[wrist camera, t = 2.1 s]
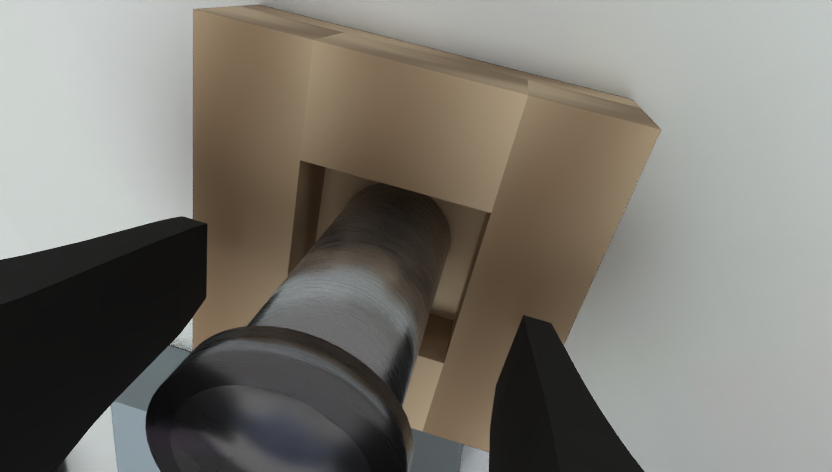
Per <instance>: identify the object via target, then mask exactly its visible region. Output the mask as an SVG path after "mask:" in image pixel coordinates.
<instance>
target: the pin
mask: <svg viewBox="0 0 832 472" xmlns="http://www.w3.org/2000/svg"><path fill="white" fill-rule="evenodd" d="M450 240H451V236H450V228H449V224H448V221H447V219H446V216H445V215H444V213H443V211H442V209H441V208H440V207H439V205H438V204H437V203H436V202H435V201H434V200H433V199H432V198H431V197H430V196H428V195H424V194H420V193H417V192H413V191H410V190H406V189H402V188H399V187H395V186H392V185H388V184H384V183H377V184H374V185H370V186H368V187H366V188H364V189H363V190H361V191H360V192H358V193H357V194H356V195H355V196H354V197H353V198H352V199H351V200H350V202H349V203H348V204H347V205H346V206H345V208H344V209H343V210H342V211H341V212H340V214H339V215H338V216H337V217H336V218H335V220H334V221H333V222H332V223H331V225H330V226H329V227H328V228H327V229H326V231H325V232H324V233H323V234H322V235H321V237H320V238H319V239H318V240H317V241H316V243H315V244H314V245H313V246H312V248H311V249H310V250H309V251H308V252H307V254H306V255H305V256H304V257H303V258H302V260H301V261H300V262H299V263H298V264H297V266H296V267H295V268H294V269H293V271H292V272H291V273H290V274H289V275H288V277H287V278H286V279H285V280H284V281H283V283H282V284H281V285H280V286H279V287H278V289H277V290H276V291H275V292H274V294H273V295H272V296H271V297H270V298H269V300H268V301H267V302H266V303H265V304H264V306H263V307H262V308H261V309H260V310H259V312H258V313H257V314H256V315H255V317H254V318H253V319H252V320H251V321H250V323H249V324H248V325H247V326H245V327H237V328H233V329H229V330H225V331H222V332H220V333H217V334H215V335H212V336H211V337H209V338H208V339H206V340H204V341H203V342H201V343H200V344H199V345H198V346H197V347H196V348H195V349H194V350H193V351H192V352H191V353H190V354H189V355H188V356H187V357H186V358H185V359H184V360H183V361H182V362H181V364H180V365H179V366H178V367H177V368H176V369H175V370H174V371H173V372H172V373H171V374H170V376H169V377H168V378H167V379H166V380H165V381H164V382H163V383H162V384H161V385H160V386H159V388H158V389H157V391H156V392H155V393H154V395H153V396H152V398H151V401H150V403H149V405H148V409H147V413H146V424H145V430H146V436H147V442H148V445H149V448H150V451H151V454H152V456H153V458H154V461H155V463H156V465H157V466H158V468H159V470H160V471H161V472H410V469H411V465H412V460H413V455H414V441H413V435H412V430H411V427H410V423H409V420H408V417H407V415H406V413H405V411H404V409H403V403H404V400H405V396H406V393H407V390H408V386H409V383H410V380H411V376H412V373H413V370H414V366H415V363H416V359H417V356H418V353H419V349H420V346H421V343H422V339H423V336H424V333H425V329H426V326H427V323H428V319H429V316H430V312H431V309H432V306H433V302H434V299H435V296H436V292H437V289H438V286H439V282H440V279H441V275H442V272H443V269H444V265H445V262H446V259H447V255H448V252H449V248H450Z"/></svg>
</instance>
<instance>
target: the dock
mask: <svg viewBox="0 0 832 472" xmlns="http://www.w3.org/2000/svg"><path fill="white" fill-rule="evenodd" d="M190 353H191V352H188V351H185V350H182V349H178V348H175V347H172V346H168V347H167V348H166V349H165V350H164V351H163V352H162V353H161V354H160V355H159V356H158V357H157V358H156V359H155V360H154V361H153V362H152V363H151V364H150V365H149V366H148V367H147V368H146V369H145V370H144V371H143V372H142V373H141V374H140V375H139V376H138V378H137V379H136V380H135V381H134V382H133V383H132V384H131V385H130V386H129V387H128V388H127V389H126V390H125V391H124V392H123V393H122V394H121V395H120V396H119V397H118V398H117V399H116V400H115V401H114V402H113V403H112V404H111V413H112V422H113V432H114V441H115V451H116V460H117V469H118V472H161V471H160V470H159V468H158V466H157V465H156V463H155V461H154V458H153V456H152V454H151V451H150V448H149V445H148V442H147V436H146V430H145V424H146V413H147V409H148V405H149V403H150V401H151V398H152V396H153V395H154V393H155V392H156V391H157V389H158V388H159V386H160V385H161V384H162V383H163V382H164V381H165V380H166V379H167V378H168V377H169V376H170V374H171V373H172V372H173V371H174V370H175V369H176V368H177V367H178V366H179V365H180V364H181V362H182V361H183V360H184V359H185V358H186V357H187V356H188V355H189V354H190ZM411 430H412V435H413V441H414V455H413V460H412V465H411V469H410V472H459V468H460V461H461V453H462V446H463V444H461V443H458V442H455V441H451V440H448V439H445V438H442V437H439V436H435V435H432V434H429V433H426V432H423V431H419V430H416V429H413V428H411Z"/></svg>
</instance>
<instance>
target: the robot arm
mask: <svg viewBox="0 0 832 472" xmlns="http://www.w3.org/2000/svg"><path fill="white" fill-rule="evenodd" d="M207 226H208V224H207V223H203V222H200V221H197V220H193V219H190V218H186V217H183V216H182V217H176V218H170V219H166V220H161V221H157V222H153V223H149V224H146V225H142V226H138V227H134V228H131V229H127V230H123V231H120V232H116V233H112V234H108V235H105V236H101V237H97V238H93V239H90V240H86V241H82V242H78V243H74V244H70V245H65V246H61V247H57V248H53V249H48V250H44V251H40V252H36V253H32V254H27V255H23V256H18V257H13V258H8V259H3V260H0V472H55V471H56V469H57V468H58V467H59V465H60V464H61V463H62V462H63V460H64V459H65V458H66V457H67V456H68V454H69V453H70V452H71V451H72V449H73V448H74V447H75V446H76V444H77V443H78V442H79V441H80V439H81V438H82V437H83V436H84V434H85V433H86V432H87V431H88V429H89V428H90V427H91V426H92V425H93V424H94V422H95V421H96V420H97V419H98V418H99V417H100V416H101V415H102V414H103V413H104V411H105V410H106V409H107V408H108V407H109V406H110V405H111V404H112V403H113V402H114V401H115V400H116V399H117V398H118V397H119V396H120V395H121V394H122V393H123V392H124V391H125V390H126V389H127V388H128V387H129V386H130V385H131V384H132V383H133V382H134V381H135V380H136V379H137V378H138V376H139V375H140V374H141V373H142V372H143V371H144V370H145V369H146V368H147V367H148V366H149V365H150V364H151V363H152V362H153V361H154V360H155V359H156V358H157V357H158V356H159V355H160V354H161V353H162V352H163V351H164V350H165V349H166V348H167V347H168V346H169V345H170V344H171V343H172V342H173V341H174V339H175V338H176V337H177V336H178V335H179V334H180V333H181V332H182V331H183V329H184V328H185V327H186V325H187V324H188V323H189V321H190V320H191V319H192V317H193V316H194V315H195V313H196V312H197V310H198V309H199V308H200V306H201V305H202V303H203V302H204V300H205V299H206V292H207ZM489 472H644V471H643V469H642V468H641V467H640V465H639V464H638V463H637V462H636V460H635V459H634V458H633V457H632V455H631V454H630V452H629V451H628V450H627V448H626V447H625V446H624V444H623V443H622V441H621V440H620V439H619V437H618V436H617V434H616V433H615V431H614V430H613V428H612V427H611V425H610V424H609V422H608V421H607V419H606V418H605V416H604V415H603V413H602V412H601V410H600V409H599V407H598V405H597V404H596V402H595V401H594V399H593V397H592V396H591V394H590V392H589V391H588V389H587V387H586V385H585V384H584V382H583V380H582V379H581V377H580V375H579V373H578V371H577V370H576V368H575V366H574V364H573V362H572V360H571V359H570V357H569V355H568V353H567V351H566V349H565V347H564V345H563V344H562V342H561V340H560V338H559V336H558V334H557V332H556V330H555V329H554V327H553V325H552V323H549V322H546V321H543V320H539V319H536V318H532V317H529V316H525V315H523V317H522V319H521V322H520V325H519V327H518V330H517V332H516V335H515V337H514V340H513V343H512V345H511V348H510V350H509V353H508V355H507V358H506V360H505V363H504V366H503V368H502V371H501V373H500V376H499V378H498V381H497V383H496V388H495V395H494V402H493V408H492V416H491V423H490V448H489Z"/></svg>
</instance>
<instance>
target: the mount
mask: <svg viewBox="0 0 832 472" xmlns="http://www.w3.org/2000/svg"><path fill="white" fill-rule="evenodd" d="M660 131H661V129H660V128H659V127H658V126H657V125H656V124H655V123H654V122H653V120H652V119H651V118H650V117H649V116H648V115H647V114H646V113H645V112H644V111H643V110H642V109H641V108H640V107H639V106H638V105H637V104H636V103H635V102H634V100H631V99H627V98H623V97H619V96H616V95H612V94H608V93H604V92H600V91H596V90H592V89H588V88H584V87H580V86H576V85H572V84H568V83H564V82H561V81H557V80H553V79H549V78H545V77H541V76H537V75H533V74H529V73H525V72H521V71H517V70H513V69H509V68H505V67H502V66H498V65H494V64H490V63H486V62H482V61H478V60H474V59H470V58H466V57H462V56H458V55H454V54H450V53H447V52H443V51H439V50H435V49H431V48H427V47H423V46H419V45H415V44H411V43H407V42H403V41H399V40H395V39H391V38H388V37H384V36H380V35H376V34H372V33H368V32H364V31H360V30H356V29H352V28H348V27H344V26H340V25H336V24H333V23H329V22H325V21H321V20H317V19H313V18H309V17H305V16H301V15H297V14H293V13H289V12H285V11H281V10H278V9H274V8H270V7H266V6H262V5H247V6H232V7H217V8H202V9H193V220H197V221H200V222H203V223H207V224H208V226H207V292H206V299H205V300H204V302H203V303H202V305H201V306H200V308H199V309H198V310H197V312H196V313H195V315H194V316H193V350H194V349H195V348H196V347H197V346H198V345H199V344H200V343H201V342H203V341H204V340H206V339H208V338H209V337H211V336H212V335H215V334H217V333H220V332H222V331H225V330H229V329H233V328H237V327H245V326H247V325H248V324H249V323H250V321H251V320H252V319H253V318H254V317H255V315H256V314H257V313H258V312H259V310H260V309H261V308H262V307H263V306H264V304H265V303H266V302H267V301H268V300H269V298H270V297H271V296H272V295H273V294H274V292H275V291H276V290H277V289H278V287H279V286H280V285H281V284H282V283H283V281H284V280H285V279H286V278H287V277H288V275H289V274H290V273H291V272H292V271H293V269H294V268H295V267H296V266H297V264H298V263H299V262H300V261H301V260H302V258H303V257H304V256H305V255H306V254H307V252H308V251H309V250H310V249H311V248H312V246H313V245H314V244H315V243H316V241H317V240H318V239H319V238H320V237H321V235H322V234H323V233H324V232H325V231H326V229H327V228H328V227H329V226H330V225H331V223H332V222H333V221H334V220H335V218H336V217H337V216H338V215H339V214H340V212H341V211H342V210H343V209H344V208H345V206H346V205H347V204H348V203H349V202H350V200H351V199H352V198H353V197H354V196H355V195H356V194H357V193H358V192H360V191H361V190H363V189H364V188H366V187H368V186H370V185H374V184H377V183H384V184H388V185H392V186H395V187H399V188H402V189H406V190H410V191H413V192H417V193H420V194H424V195H428V196H430V197H431V198H432V199H433V200H434V201H435V202H436V203H437V204H438V205H439V207H440V208H441V209H442V211H443V213H444V215H445V216H446V219H447V221H448V224H449V228H450V236H451V240H450V248H449V252H448V255H447V259H446V262H445V265H444V269H443V272H442V275H441V279H440V282H439V286H438V289H437V292H436V296H435V299H434V302H433V306H432V309H431V312H430V316H429V319H428V323H427V326H426V329H425V333H424V336H423V339H422V343H421V346H420V349H419V353H418V356H417V359H416V363H415V366H414V370H413V373H412V376H411V380H410V383H409V386H408V390H407V393H406V396H405V400H404V403H403V409H404V411H405V413H406V415H407V417H408V420H409V423H410V427H411V428H413V429H416V430H419V431H423V432H426V433H429V434H432V435H435V436H439V437H442V438H445V439H448V440H451V441H455V442H458V443H461V444H464V445H467V446H471V447H474V448H477V449H480V450H483V451H486V452H489V448H490V423H491V416H492V408H493V402H494V395H495V388H496V383H497V381H498V378H499V376H500V373H501V371H502V368H503V366H504V363H505V360H506V358H507V355H508V353H509V350H510V348H511V345H512V343H513V340H514V337H515V335H516V332H517V330H518V327H519V325H520V322H521V319H522V317H523V315H525V316H529V317H532V318H536V319H539V320H543V321H546V322H549V323H552V325H553V327H554V329H555V330H556V332H557V334H558V336H559V338H560V340H561V342H562V344H563V345H564V343H565V341H566V339H567V336H568V334H569V332H570V330H571V328H572V325H573V323H574V321H575V319H576V317H577V314H578V312H579V310H580V308H581V306H582V303H583V301H584V299H585V297H586V295H587V292H588V290H589V288H590V286H591V284H592V281H593V279H594V277H595V275H596V272H597V270H598V268H599V266H600V264H601V261H602V259H603V257H604V255H605V253H606V250H607V248H608V246H609V244H610V242H611V239H612V237H613V235H614V233H615V231H616V228H617V226H618V224H619V222H620V220H621V217H622V215H623V213H624V211H625V209H626V206H627V204H628V202H629V200H630V197H631V195H632V193H633V191H634V189H635V186H636V184H637V182H638V180H639V178H640V175H641V173H642V171H643V169H644V167H645V164H646V162H647V160H648V158H649V156H650V153H651V151H652V149H653V147H654V145H655V142H656V140H657V138H658V136H659V134H660Z"/></svg>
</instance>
